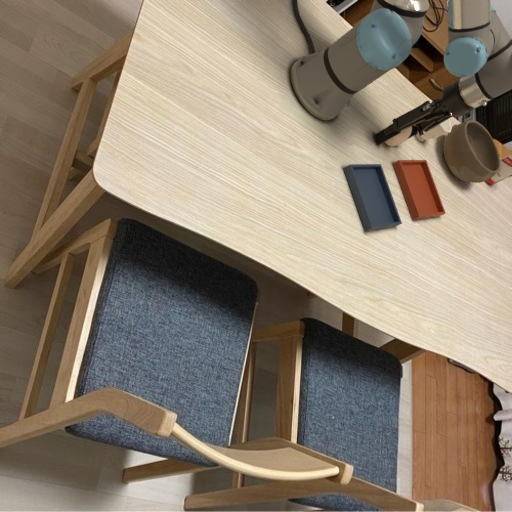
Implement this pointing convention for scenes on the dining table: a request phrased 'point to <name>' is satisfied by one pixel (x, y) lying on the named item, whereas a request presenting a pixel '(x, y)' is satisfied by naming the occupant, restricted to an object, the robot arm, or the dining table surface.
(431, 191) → the terracotta tray
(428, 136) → the cup
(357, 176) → the blue tray
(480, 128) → the bowl
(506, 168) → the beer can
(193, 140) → the dining table surface
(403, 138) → the egg
